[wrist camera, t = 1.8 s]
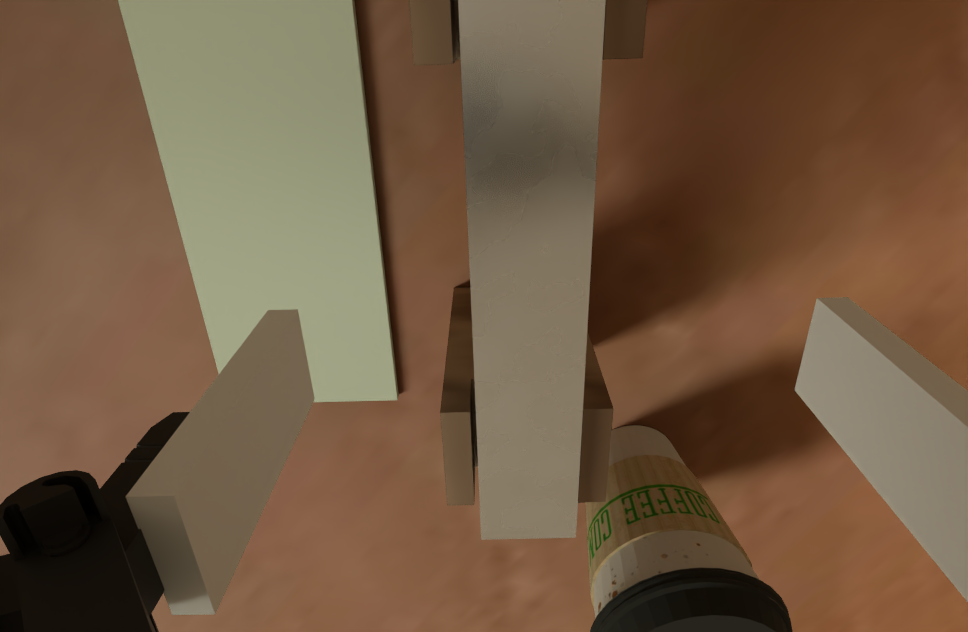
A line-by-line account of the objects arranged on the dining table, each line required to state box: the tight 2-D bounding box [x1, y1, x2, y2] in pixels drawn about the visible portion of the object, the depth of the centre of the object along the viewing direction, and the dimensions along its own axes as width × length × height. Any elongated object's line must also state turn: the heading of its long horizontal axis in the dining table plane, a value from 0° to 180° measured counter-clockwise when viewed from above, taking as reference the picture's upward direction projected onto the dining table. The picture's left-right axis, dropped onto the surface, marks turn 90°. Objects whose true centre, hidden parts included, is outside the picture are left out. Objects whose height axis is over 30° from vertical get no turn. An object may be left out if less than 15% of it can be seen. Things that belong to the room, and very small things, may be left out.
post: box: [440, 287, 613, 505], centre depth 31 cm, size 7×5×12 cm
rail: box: [458, 0, 606, 539], centre depth 22 cm, size 24×4×4 cm, turn 2°
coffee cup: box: [585, 425, 792, 632], centre depth 34 cm, size 10×10×15 cm
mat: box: [118, 0, 399, 402], centre depth 32 cm, size 11×28×1 cm, turn 2°
